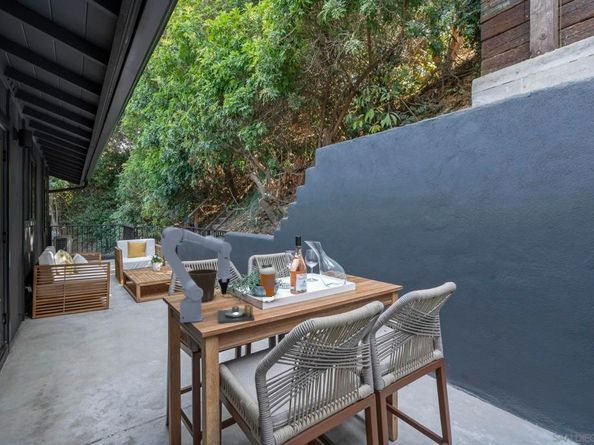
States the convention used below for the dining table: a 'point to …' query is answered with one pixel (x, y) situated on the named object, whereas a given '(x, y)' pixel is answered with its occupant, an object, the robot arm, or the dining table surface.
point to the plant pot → (205, 282)
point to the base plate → (232, 318)
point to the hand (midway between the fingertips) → (224, 293)
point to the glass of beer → (268, 279)
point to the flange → (238, 311)
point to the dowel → (248, 311)
